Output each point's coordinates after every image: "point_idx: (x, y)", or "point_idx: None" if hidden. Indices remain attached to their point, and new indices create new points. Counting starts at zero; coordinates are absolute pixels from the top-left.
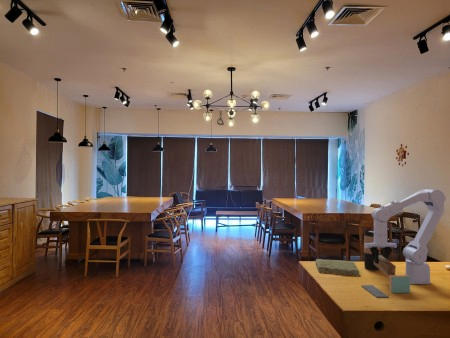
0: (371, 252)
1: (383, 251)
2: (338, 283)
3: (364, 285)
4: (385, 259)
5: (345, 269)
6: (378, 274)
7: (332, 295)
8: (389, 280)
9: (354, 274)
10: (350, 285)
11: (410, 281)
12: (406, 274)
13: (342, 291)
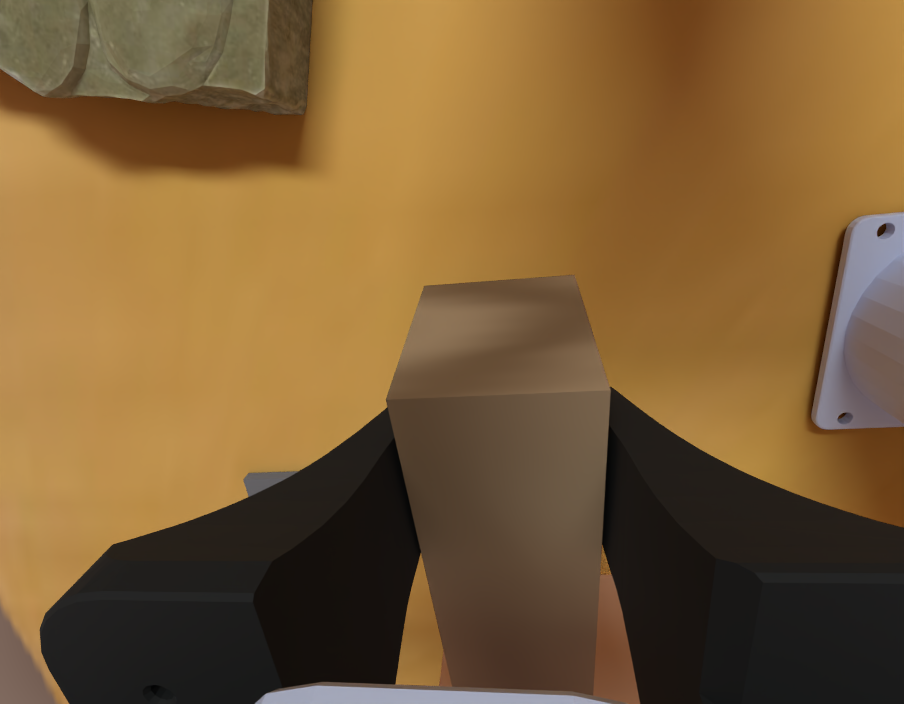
0: (254, 497)
1: (654, 580)
2: (49, 401)
3: (269, 484)
4: (561, 589)
5: (55, 83)
6: (618, 10)
7: (23, 618)
8: (442, 669)
9: (230, 104)
10: (154, 449)
11: (850, 379)
12: (902, 348)
13: (86, 563)
